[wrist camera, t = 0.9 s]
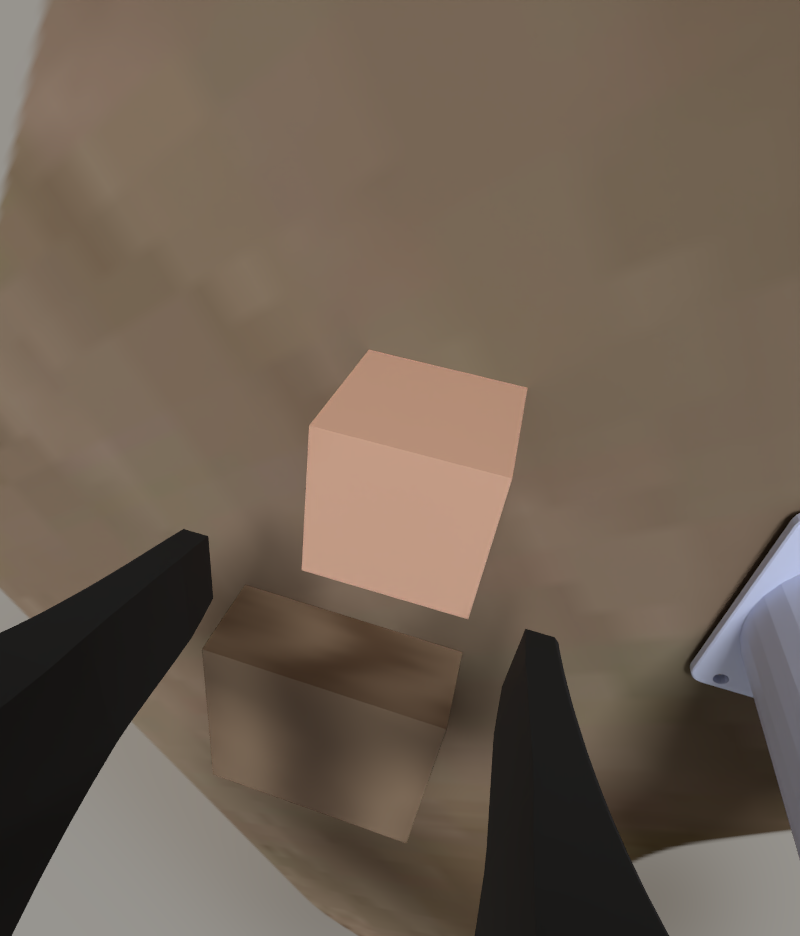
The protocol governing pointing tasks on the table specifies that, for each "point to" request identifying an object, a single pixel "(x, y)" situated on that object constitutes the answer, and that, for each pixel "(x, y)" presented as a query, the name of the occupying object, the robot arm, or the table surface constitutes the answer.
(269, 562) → the table surface
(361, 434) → the terracotta cube
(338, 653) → the walnut block
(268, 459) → the table surface
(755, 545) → the table surface
